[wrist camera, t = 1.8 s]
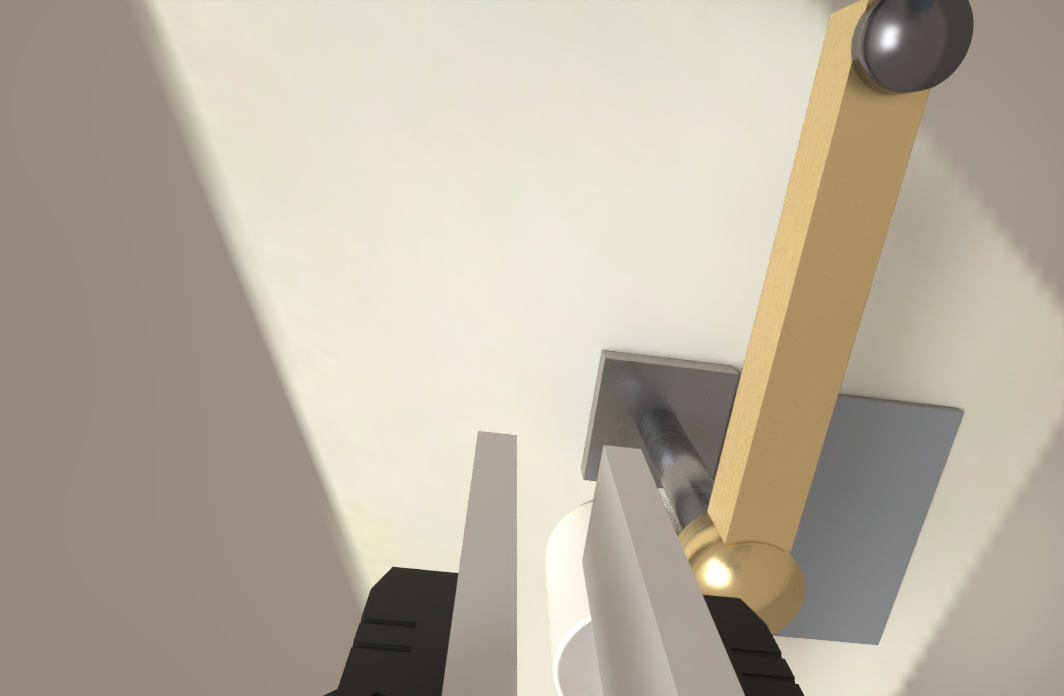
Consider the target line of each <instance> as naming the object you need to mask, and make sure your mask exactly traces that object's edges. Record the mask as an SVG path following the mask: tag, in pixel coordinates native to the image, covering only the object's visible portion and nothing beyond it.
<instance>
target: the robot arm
mask: <svg viewBox="0 0 1064 696" xmlns="http://www.w3.org/2000/svg"><path fill="white" fill-rule="evenodd" d="M582 565H583V571H584V577H585V584H586V590H587V596H588V602H589V608H590V615H591V621H592V627H593V633H594V640H595V646H596V652H597V658H598V664H599V671H600V677H601V683H602V689H603V696H804V694H803V692H802V690H801V688H800V687H799V685H798V684H795V677H794V675H793V673H792V672H791V670H790V668H789V666H788V664H787V662H786V660H785V659H782V657H781V654H782V653H781V651H780V649H779V647H778V645H777V643H776V641H775V640H774V638H773V636H772V634H771V632H770V630H769V628H768V626H767V624H766V623H765V622H764V621H763V620H762V619H761V618H760V617H759V616H758V615H757V614H756V613H755V612H754V611H753V610H752V609H751V608H750V607H749V606H748V605H747V604H746V603H745V602H744V601H743V600H742V599H741V598H734V597H724V596H714V595H703V594H702V593H701V590H700V588H699V586H698V583H697V581H696V578H695V576H694V574H693V571H692V569H691V567H690V564H689V562H688V560H687V557H686V555H685V552H684V550H683V548H682V545H681V543H680V541H679V538H678V536H677V533H676V531H675V529H674V526H673V524H672V522H671V519H670V517H669V514H668V512H667V510H666V507H665V505H664V503H663V500H662V498H661V495H660V493H659V491H658V488H657V486H656V484H655V481H654V479H653V477H652V474H651V472H650V469H649V467H648V465H647V462H646V460H645V458H644V455H643V453H642V450H641V449H635V448H626V447H617V446H608V445H603V450H602V456H601V461H600V466H599V472H598V477H597V483H596V488H595V493H594V499H593V504H592V510H591V515H590V521H589V526H588V531H587V537H586V542H585V548H584V553H583V558H582ZM324 696H517V435H509V434H500V433H491V432H482V431H478V437H477V444H476V451H475V458H474V465H473V473H472V480H471V487H470V494H469V502H468V509H467V516H466V523H465V531H464V538H463V545H462V552H461V560H460V567H459V573H451V572H441V571H430V570H420V569H410V568H399V567H392V568H391V569H390V570H389V571H388V572H387V573H386V574H385V575H384V576H383V577H382V578H381V579H380V580H379V581H378V582H377V583H376V584H375V585H374V586H373V587H372V588H371V591H370V593H369V596H368V599H367V602H366V605H365V608H364V611H363V614H362V618H361V623H359V627H358V629H357V632H356V636H355V638H354V642H353V647H352V648H351V650H350V653H349V656H348V659H347V662H346V665H345V668H344V671H343V674H342V677H341V680H340V683H339V686H338V689H337V690H335V691H332V692H330V693H328V694H326V695H324Z"/></svg>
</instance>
